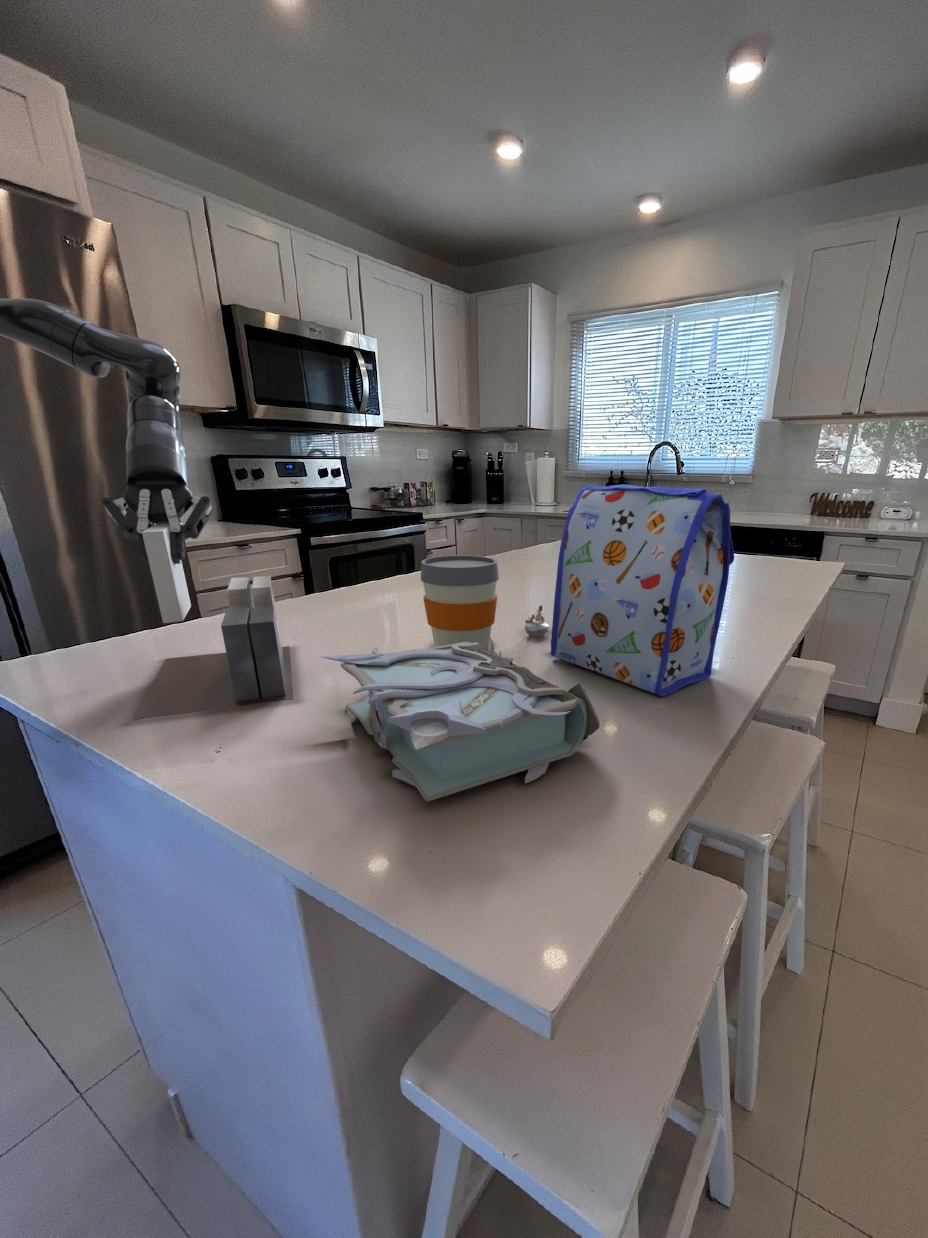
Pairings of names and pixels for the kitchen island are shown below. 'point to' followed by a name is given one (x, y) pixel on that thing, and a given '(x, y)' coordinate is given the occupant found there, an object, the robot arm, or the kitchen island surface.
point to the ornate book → (465, 715)
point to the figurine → (536, 625)
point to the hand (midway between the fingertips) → (162, 560)
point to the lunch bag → (642, 584)
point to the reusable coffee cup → (460, 598)
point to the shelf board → (199, 686)
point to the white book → (166, 574)
